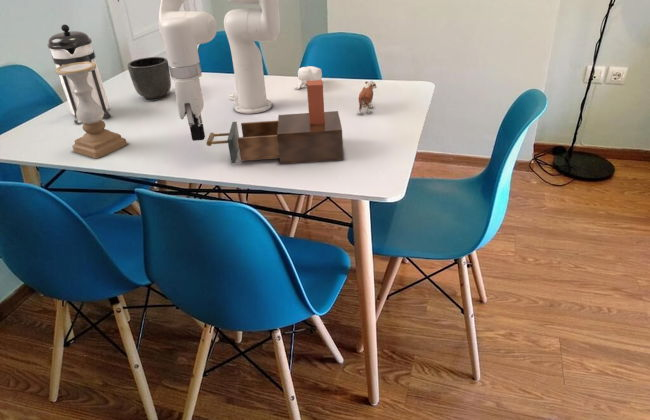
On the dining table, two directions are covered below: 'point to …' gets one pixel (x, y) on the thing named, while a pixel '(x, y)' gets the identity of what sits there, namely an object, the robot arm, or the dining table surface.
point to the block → (315, 102)
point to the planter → (150, 77)
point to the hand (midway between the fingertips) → (198, 139)
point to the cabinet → (309, 138)
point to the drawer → (251, 141)
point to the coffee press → (76, 50)
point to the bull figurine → (366, 96)
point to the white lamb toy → (308, 75)
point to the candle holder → (90, 114)
